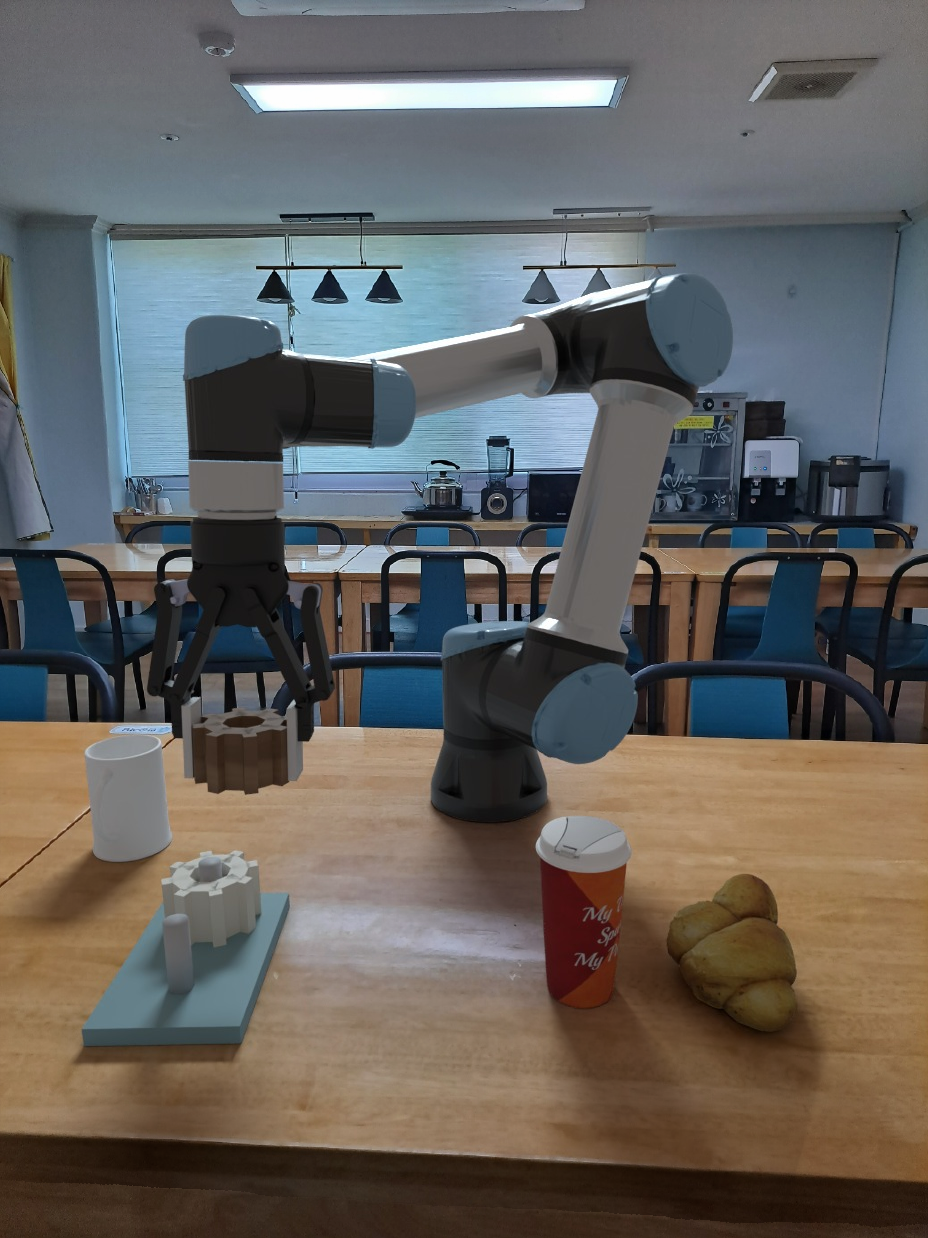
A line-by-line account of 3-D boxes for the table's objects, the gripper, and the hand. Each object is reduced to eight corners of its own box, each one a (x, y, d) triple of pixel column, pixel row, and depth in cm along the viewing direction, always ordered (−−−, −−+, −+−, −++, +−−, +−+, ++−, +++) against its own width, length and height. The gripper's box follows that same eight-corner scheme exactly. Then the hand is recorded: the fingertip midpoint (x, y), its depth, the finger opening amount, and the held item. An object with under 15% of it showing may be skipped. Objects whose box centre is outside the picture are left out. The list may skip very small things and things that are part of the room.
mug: (133, 880, 86) (122, 774, 83) (58, 875, 87) (46, 770, 84) (185, 829, 97) (177, 734, 95) (119, 825, 98) (109, 732, 96)
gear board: (289, 906, 80) (285, 836, 79) (241, 1043, 62) (234, 956, 60) (168, 908, 80) (162, 838, 79) (83, 1046, 62) (73, 958, 60)
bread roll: (822, 1045, 61) (831, 951, 60) (694, 1047, 61) (700, 952, 60) (760, 944, 74) (766, 863, 72) (654, 945, 74) (658, 865, 72)
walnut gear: (301, 760, 75) (301, 709, 74) (281, 795, 67) (280, 738, 66) (213, 758, 75) (211, 706, 74) (182, 793, 67) (179, 735, 66)
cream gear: (268, 896, 79) (265, 849, 78) (247, 947, 71) (244, 895, 70) (184, 897, 79) (180, 851, 78) (154, 948, 71) (148, 897, 70)
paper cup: (605, 1031, 63) (610, 866, 60) (518, 996, 67) (519, 841, 64) (640, 976, 69) (646, 825, 66) (559, 948, 73) (561, 804, 70)
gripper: (370, 515, 71) (369, 761, 75) (130, 509, 71) (142, 756, 75) (358, 520, 63) (358, 794, 67) (90, 514, 63) (106, 787, 67)
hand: (244, 773), depth 71 cm, fingers closed on walnut gear, 8 cm apart
